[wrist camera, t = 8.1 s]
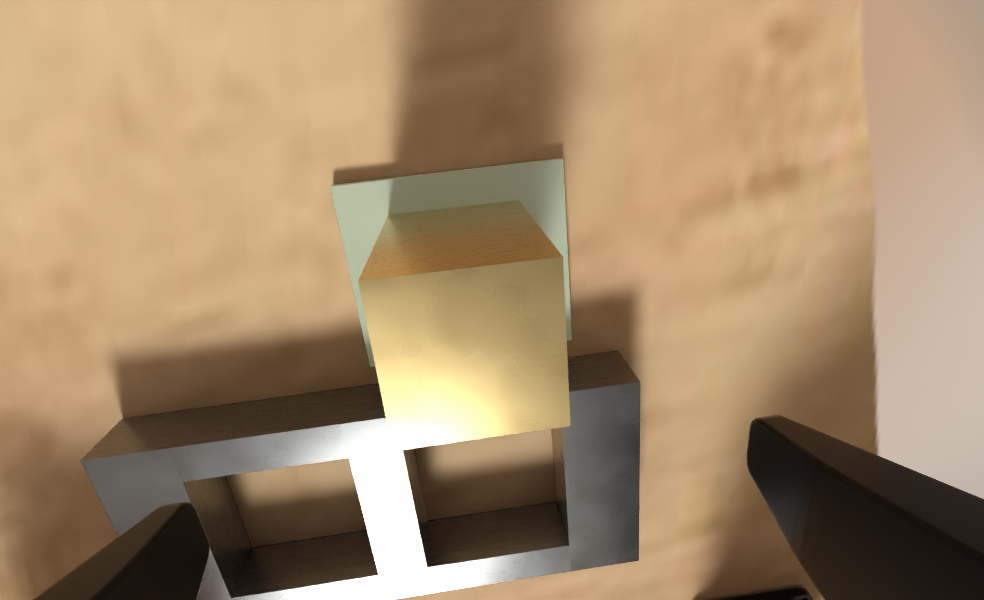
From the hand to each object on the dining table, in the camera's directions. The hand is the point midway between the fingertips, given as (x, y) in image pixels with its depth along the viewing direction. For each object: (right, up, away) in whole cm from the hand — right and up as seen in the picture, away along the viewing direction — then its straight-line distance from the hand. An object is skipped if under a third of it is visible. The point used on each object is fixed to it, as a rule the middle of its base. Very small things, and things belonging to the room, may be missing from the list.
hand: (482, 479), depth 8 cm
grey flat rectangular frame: (-4, -5, +14) cm, 15 cm away
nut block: (-1, +4, +10) cm, 11 cm away
